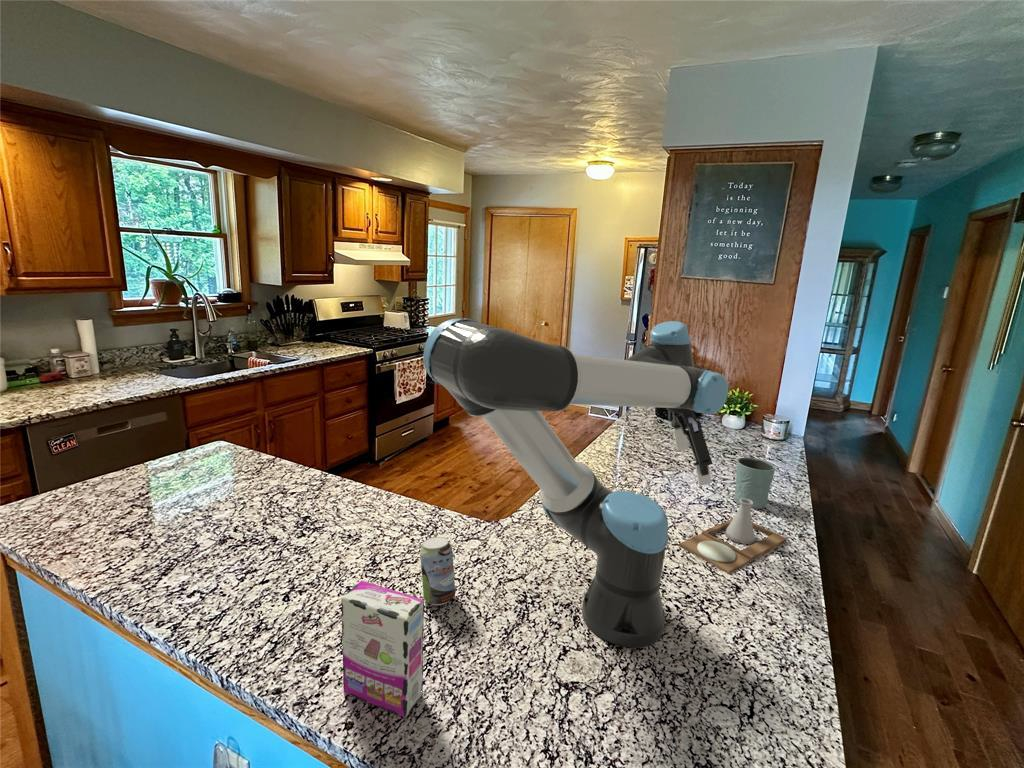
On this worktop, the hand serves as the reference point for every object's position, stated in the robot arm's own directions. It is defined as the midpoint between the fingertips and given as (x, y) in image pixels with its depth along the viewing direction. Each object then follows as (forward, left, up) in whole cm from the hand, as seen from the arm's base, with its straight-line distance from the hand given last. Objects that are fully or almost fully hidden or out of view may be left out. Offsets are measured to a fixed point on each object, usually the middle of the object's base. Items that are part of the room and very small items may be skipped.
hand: (693, 465), depth 118 cm
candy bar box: (-78, -4, -20) cm, 81 cm away
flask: (+15, -7, -20) cm, 26 cm away
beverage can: (-61, +11, -20) cm, 65 cm away
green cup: (+37, +3, -20) cm, 42 cm away
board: (+10, -8, -20) cm, 24 cm away
